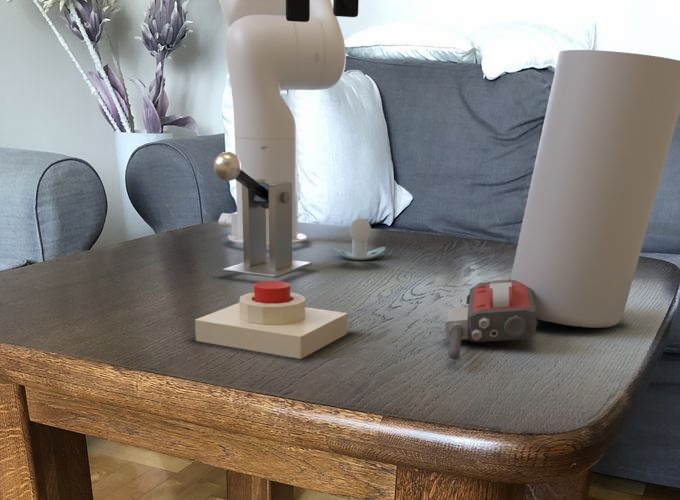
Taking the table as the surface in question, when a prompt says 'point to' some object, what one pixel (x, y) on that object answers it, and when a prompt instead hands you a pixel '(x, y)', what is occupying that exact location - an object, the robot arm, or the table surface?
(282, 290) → the button
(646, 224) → the cylinder vase
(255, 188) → the switch lever
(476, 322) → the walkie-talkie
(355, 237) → the pacifier
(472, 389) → the table surface
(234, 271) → the switch bracket
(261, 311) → the button housing
